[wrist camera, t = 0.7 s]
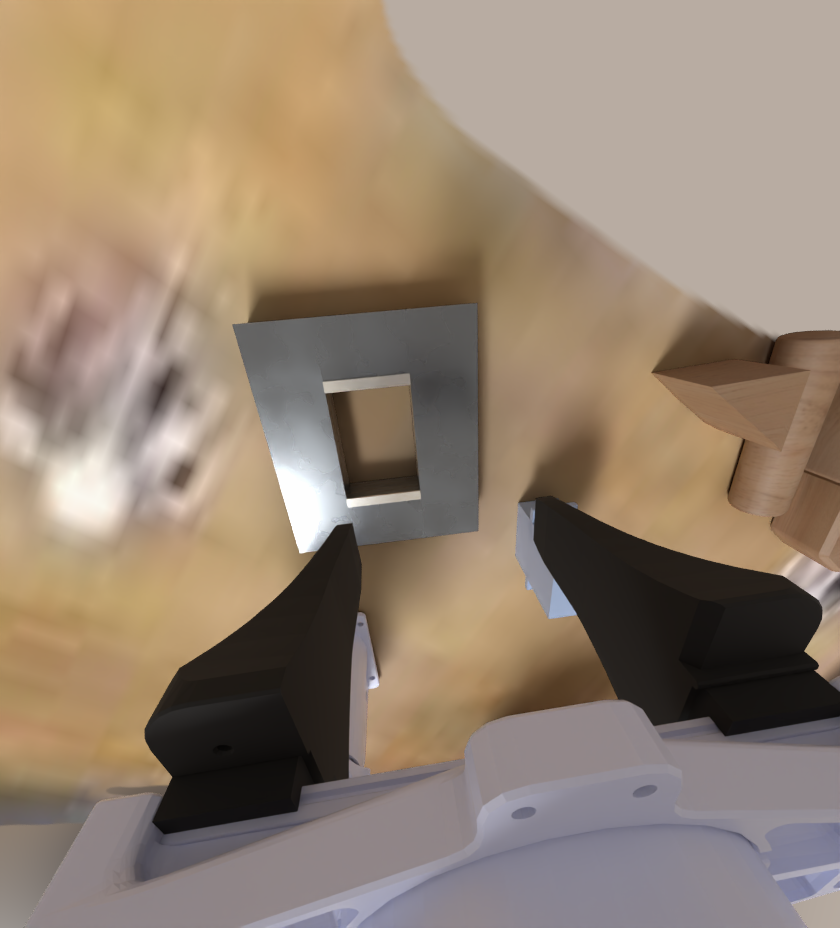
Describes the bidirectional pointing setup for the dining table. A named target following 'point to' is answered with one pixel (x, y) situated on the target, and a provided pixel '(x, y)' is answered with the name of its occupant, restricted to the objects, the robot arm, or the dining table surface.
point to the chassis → (357, 368)
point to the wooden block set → (779, 435)
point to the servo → (538, 565)
